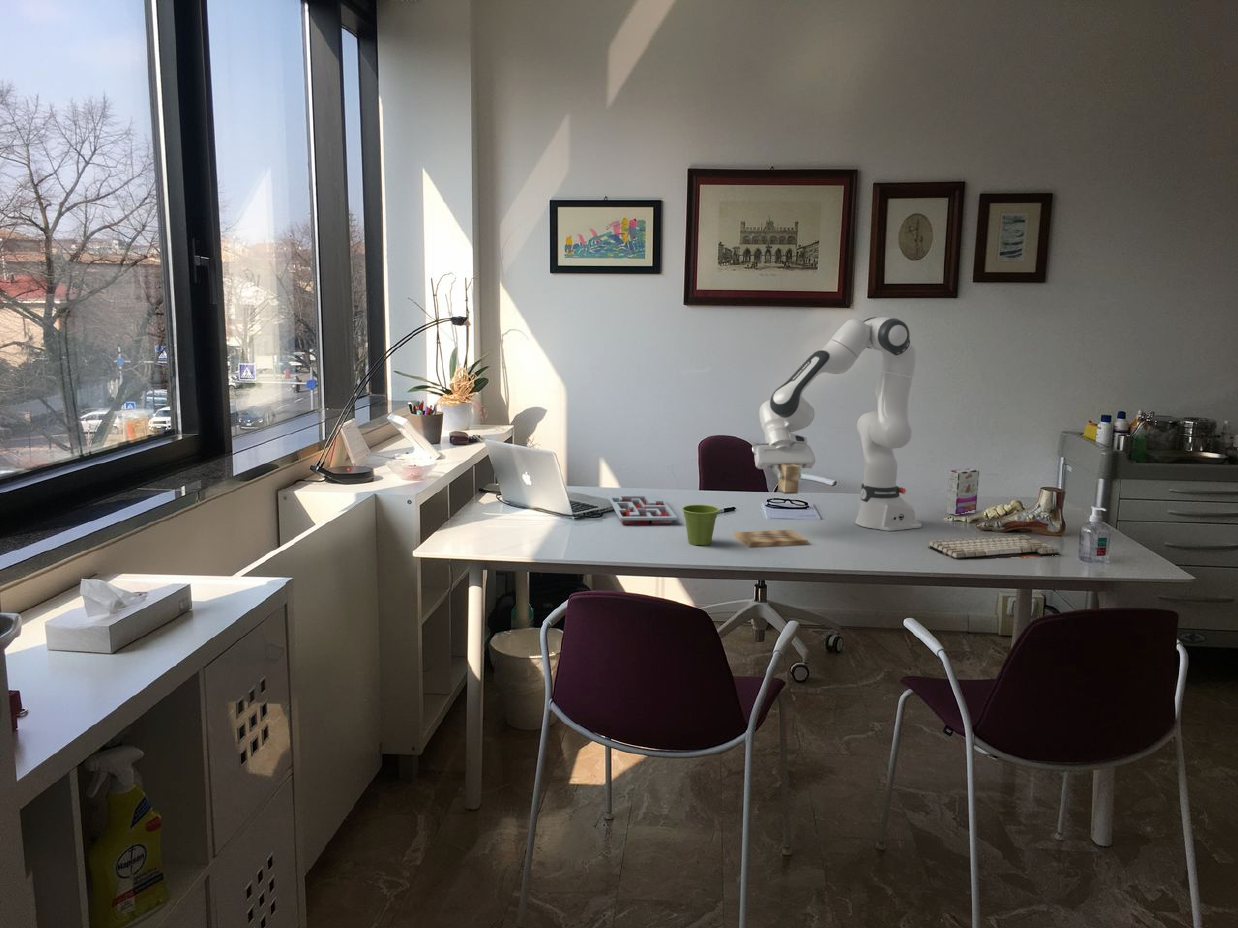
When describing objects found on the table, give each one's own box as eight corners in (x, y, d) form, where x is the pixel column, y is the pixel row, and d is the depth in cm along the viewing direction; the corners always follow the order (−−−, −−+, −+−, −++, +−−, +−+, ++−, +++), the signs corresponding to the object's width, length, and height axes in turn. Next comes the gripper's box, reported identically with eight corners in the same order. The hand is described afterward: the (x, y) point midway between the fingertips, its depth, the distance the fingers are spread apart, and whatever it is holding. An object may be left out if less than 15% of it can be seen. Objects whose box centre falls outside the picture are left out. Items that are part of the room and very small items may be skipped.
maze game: (677, 526, 330) (677, 517, 329) (620, 527, 327) (620, 518, 327) (659, 503, 364) (660, 495, 363) (607, 503, 361) (608, 495, 361)
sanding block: (790, 490, 321) (792, 463, 319) (797, 493, 315) (799, 466, 314) (777, 490, 319) (779, 463, 318) (784, 493, 314) (786, 466, 313)
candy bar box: (965, 510, 364) (969, 467, 361) (976, 513, 360) (980, 470, 357) (944, 513, 358) (948, 469, 355) (955, 516, 354) (959, 472, 351)
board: (790, 534, 322) (790, 529, 322) (807, 544, 310) (807, 539, 309) (734, 536, 317) (734, 532, 317) (749, 547, 304) (749, 542, 304)
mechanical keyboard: (960, 564, 293) (961, 553, 293) (923, 548, 311) (924, 538, 311) (1063, 558, 304) (1064, 547, 304) (1021, 542, 322) (1022, 532, 322)
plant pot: (689, 536, 316) (690, 502, 314) (723, 541, 311) (725, 507, 308) (674, 544, 306) (675, 509, 304) (709, 550, 300) (710, 514, 298)
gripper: (753, 438, 318) (763, 473, 310) (811, 437, 323) (821, 472, 315) (747, 449, 323) (757, 483, 316) (804, 448, 328) (815, 482, 320)
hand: (790, 477), depth 315 cm, fingers closed on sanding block, 5 cm apart
